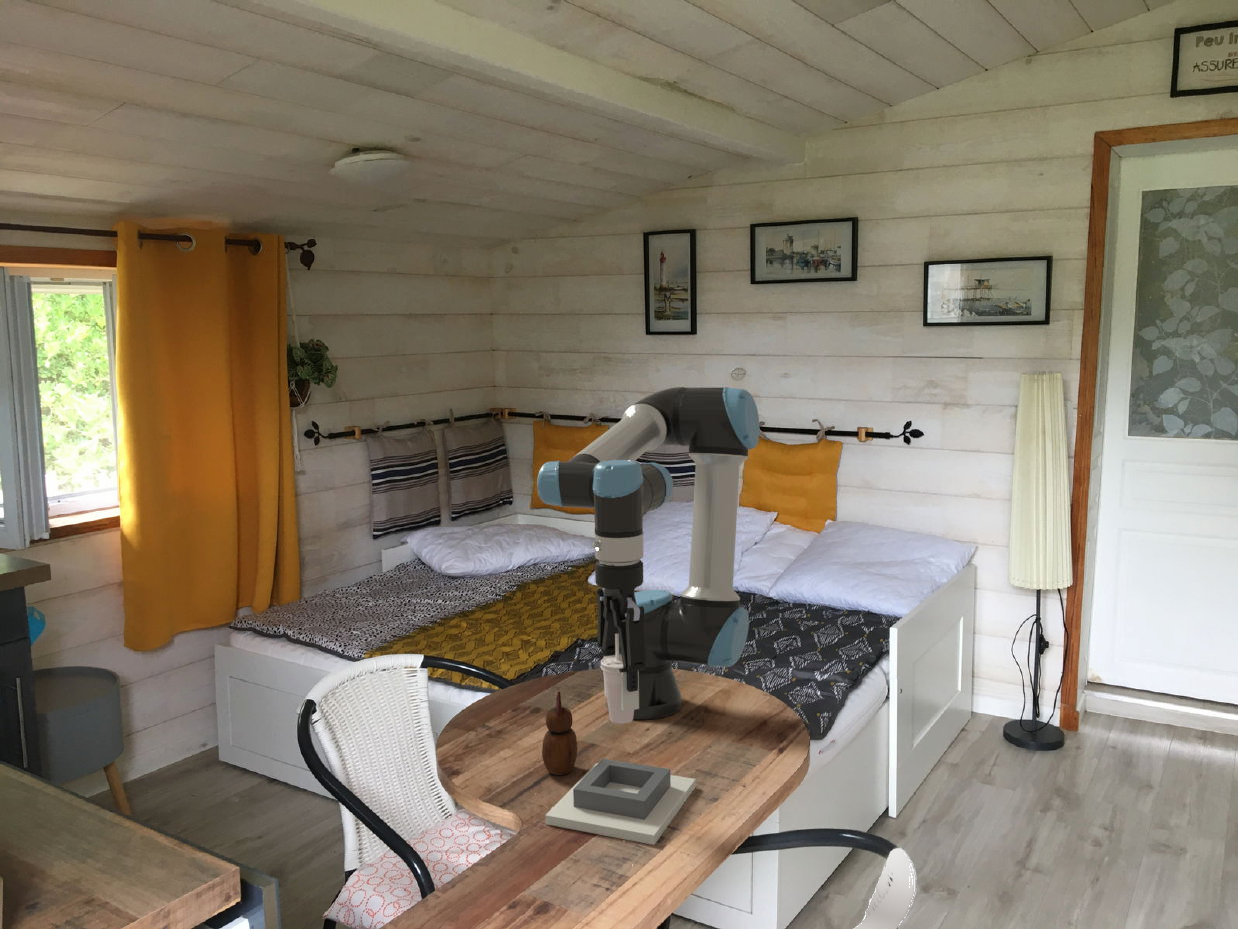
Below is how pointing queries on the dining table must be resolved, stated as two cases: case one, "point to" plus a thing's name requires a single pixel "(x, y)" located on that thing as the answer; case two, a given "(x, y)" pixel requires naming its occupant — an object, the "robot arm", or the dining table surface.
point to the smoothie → (615, 686)
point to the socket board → (620, 822)
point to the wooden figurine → (559, 740)
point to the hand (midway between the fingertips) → (621, 701)
